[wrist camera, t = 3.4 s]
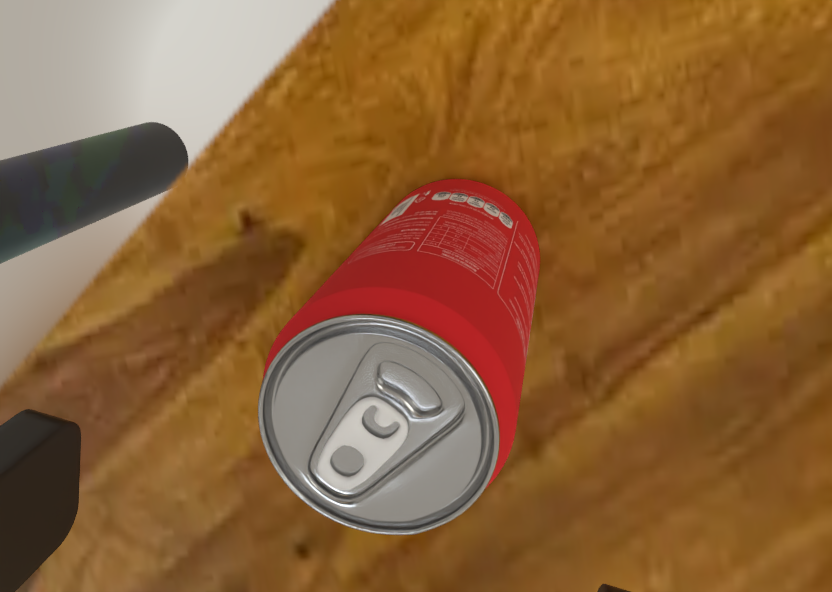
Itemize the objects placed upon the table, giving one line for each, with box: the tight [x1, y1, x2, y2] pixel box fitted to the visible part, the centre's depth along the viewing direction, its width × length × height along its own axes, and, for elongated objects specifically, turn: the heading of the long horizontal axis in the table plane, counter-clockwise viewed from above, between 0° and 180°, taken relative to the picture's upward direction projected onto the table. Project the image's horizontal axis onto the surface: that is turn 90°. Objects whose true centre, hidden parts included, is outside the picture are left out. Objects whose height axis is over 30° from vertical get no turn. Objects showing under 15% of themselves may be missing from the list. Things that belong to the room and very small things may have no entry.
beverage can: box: [258, 179, 540, 535], centre depth 20 cm, size 5×5×12 cm
